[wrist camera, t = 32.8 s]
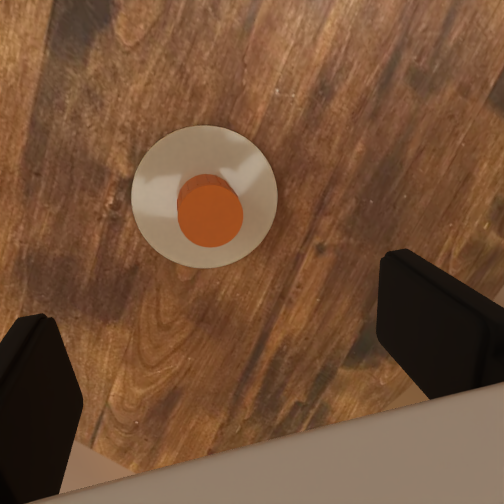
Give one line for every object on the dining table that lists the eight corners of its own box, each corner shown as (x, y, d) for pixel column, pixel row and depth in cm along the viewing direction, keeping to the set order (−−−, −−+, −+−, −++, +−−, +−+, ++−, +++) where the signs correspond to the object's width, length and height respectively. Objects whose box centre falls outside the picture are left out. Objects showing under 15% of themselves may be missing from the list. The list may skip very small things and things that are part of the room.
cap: (234, 172, 25) (244, 182, 21) (235, 228, 26) (244, 246, 23) (175, 173, 24) (175, 184, 21) (179, 231, 25) (179, 250, 22)
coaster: (148, 274, 27) (148, 279, 26) (116, 133, 23) (114, 134, 22) (279, 253, 28) (281, 256, 28) (269, 116, 24) (272, 117, 24)
